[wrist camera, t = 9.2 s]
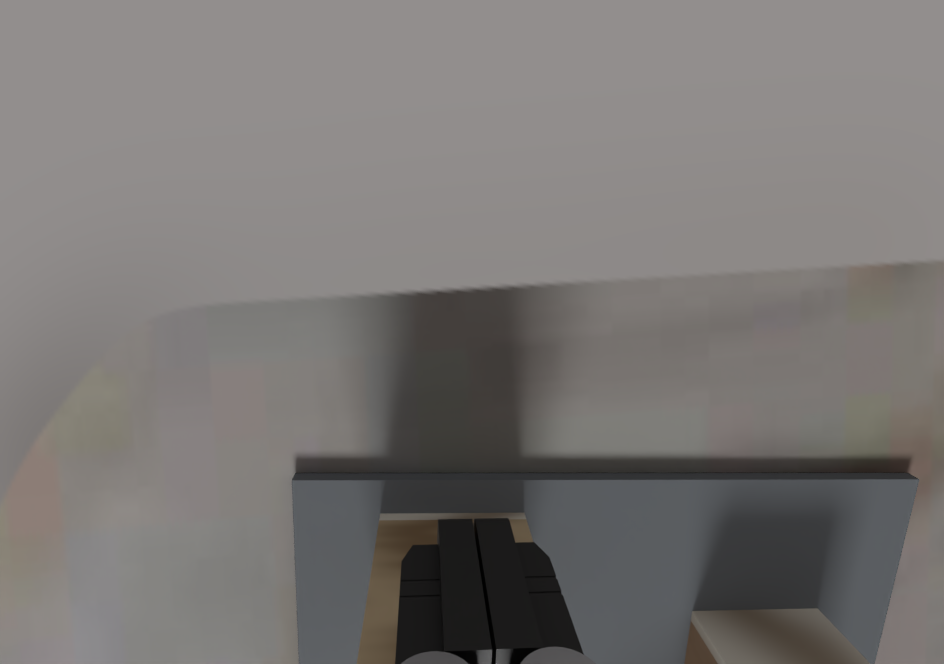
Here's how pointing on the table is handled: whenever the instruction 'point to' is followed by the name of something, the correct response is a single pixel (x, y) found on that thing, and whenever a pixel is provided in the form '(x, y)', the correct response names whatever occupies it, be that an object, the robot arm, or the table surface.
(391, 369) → the table surface
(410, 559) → the robot arm
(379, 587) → the oak block
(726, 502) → the mat
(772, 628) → the walnut block
